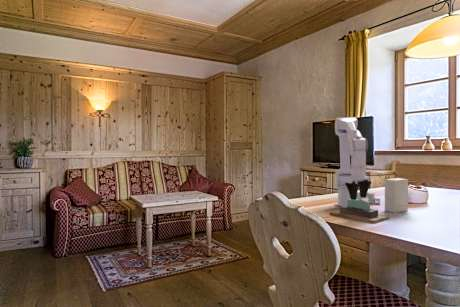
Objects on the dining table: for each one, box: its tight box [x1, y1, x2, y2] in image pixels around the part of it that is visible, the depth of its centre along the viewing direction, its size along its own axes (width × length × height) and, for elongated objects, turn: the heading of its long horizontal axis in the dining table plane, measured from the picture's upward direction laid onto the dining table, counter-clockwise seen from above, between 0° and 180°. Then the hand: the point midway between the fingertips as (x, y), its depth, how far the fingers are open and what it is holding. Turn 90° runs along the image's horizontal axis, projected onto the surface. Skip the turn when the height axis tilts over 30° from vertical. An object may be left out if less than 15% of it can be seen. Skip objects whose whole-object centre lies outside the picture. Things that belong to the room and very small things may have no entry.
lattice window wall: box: [357, 191, 381, 205], centre depth 162 cm, size 12×2×6 cm, turn 50°
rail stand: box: [329, 205, 390, 224], centre depth 133 cm, size 12×20×4 cm, turn 37°
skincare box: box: [384, 177, 409, 214], centre depth 142 cm, size 8×6×15 cm
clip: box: [347, 199, 371, 211], centre depth 133 cm, size 2×9×6 cm, turn 37°
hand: (358, 198), depth 132 cm, fingers open, 7 cm apart
